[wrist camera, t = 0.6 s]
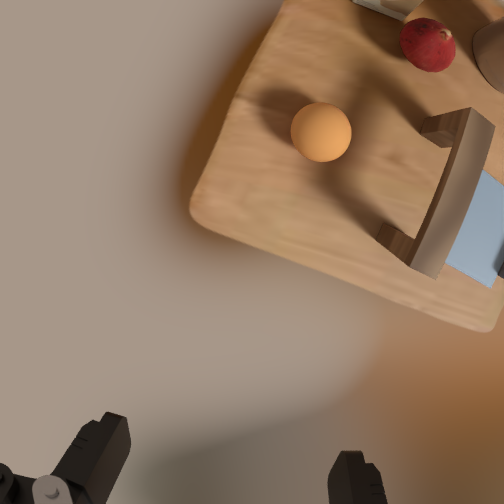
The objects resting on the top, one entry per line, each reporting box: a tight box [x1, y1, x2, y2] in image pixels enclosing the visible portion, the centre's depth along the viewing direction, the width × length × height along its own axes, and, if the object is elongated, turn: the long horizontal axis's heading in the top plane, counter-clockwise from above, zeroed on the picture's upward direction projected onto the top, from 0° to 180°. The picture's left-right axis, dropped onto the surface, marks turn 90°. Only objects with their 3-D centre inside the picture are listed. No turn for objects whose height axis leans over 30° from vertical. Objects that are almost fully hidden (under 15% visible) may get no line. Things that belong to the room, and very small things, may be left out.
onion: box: [399, 18, 455, 72], centre depth 22 cm, size 6×6×8 cm
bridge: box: [376, 107, 495, 280], centre depth 26 cm, size 3×14×9 cm, turn 158°
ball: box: [291, 103, 351, 162], centre depth 27 cm, size 6×6×6 cm
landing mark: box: [445, 170, 504, 289], centre depth 30 cm, size 12×12×1 cm
